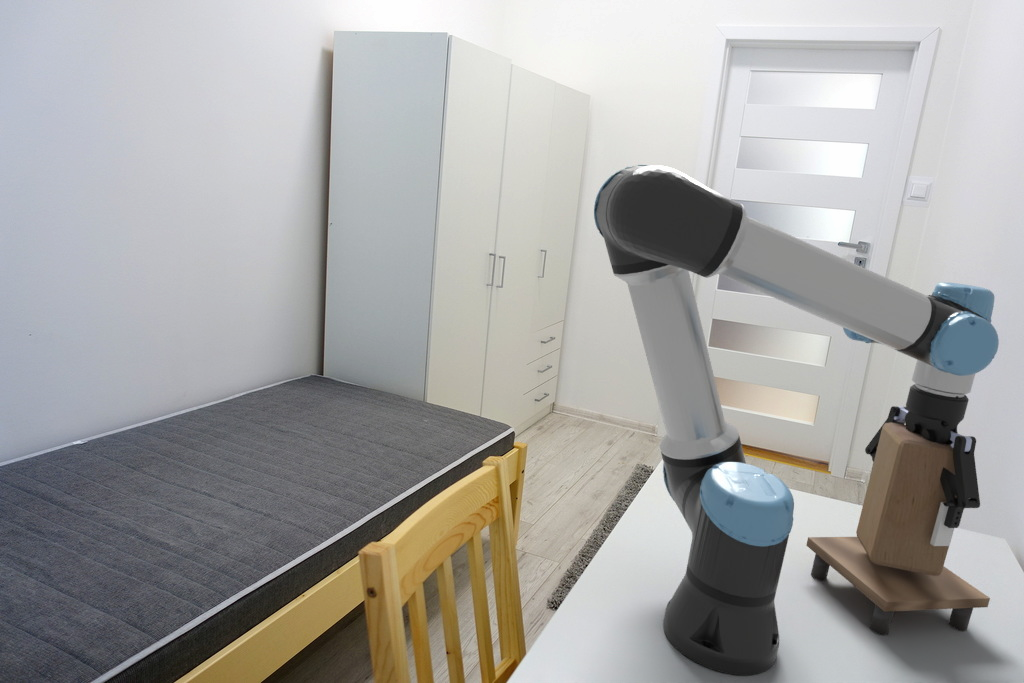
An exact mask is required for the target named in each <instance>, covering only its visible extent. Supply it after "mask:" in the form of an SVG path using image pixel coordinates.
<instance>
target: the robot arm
mask: <svg viewBox="0 0 1024 683" xmlns="http://www.w3.org/2000/svg"><path fill="white" fill-rule="evenodd" d="M593 206H594V207H593V219H594V222H595V226H596V229H597V231H598V232H599V235H601V236H602V238H603V240H604V244H605V247H606V251H607V255H608V258H609V263H610V265H611V269H612V272H613V275H614V276H615V277H617V278H618V279H620V280H622V281H624V282H625V283H626V284H627V287H628V290H629V296H630V298H631V302H632V306H633V310H634V314H635V318H636V321H637V326H638V329H639V333H640V337H641V340H642V344H643V348H644V353H645V356H646V360H647V363H648V364H647V365H648V367H649V372H650V375H651V379H652V382H653V387H654V390H655V394H656V397H657V402H658V405H659V409H660V413H661V417H662V421H663V425H664V430H665V432H666V433H665V435H664V436H663V437H662V439H661V440H660V443H659V450H660V453H661V454H660V455H661V456H662V457H661V458H662V461H663V463H662V464H663V465H662V474H663V475H662V476H663V482H664V485H665V488H666V490H667V492H668V495H669V496H670V497H671V499H672V501H674V503H675V505H676V507H677V508H678V509H679V512H680V513H681V515H682V517H683V519H684V520H685V522H686V524H687V525H688V527H689V529H690V531H691V543H690V549H689V552H688V559H687V564H686V566H687V567H686V570H685V574H684V576H683V578H682V580H681V581H680V583H679V584H678V586H677V588H676V590H675V592H674V594H673V595H672V597H671V599H670V600H669V601H668V602H667V604H666V607H665V611H664V616H663V622H662V626H663V627H662V628H663V631H664V634H665V636H666V638H667V640H669V642H670V643H671V645H673V647H674V648H675V649H676V650H677V651H679V653H681V654H682V655H684V656H685V657H687V658H688V659H690V660H691V661H693V662H694V663H697V664H699V665H700V666H703V667H706V668H708V669H711V670H714V671H717V672H720V673H725V674H731V675H739V676H745V675H746V676H748V675H755V674H760V673H763V672H766V671H767V670H769V669H770V668H771V667H772V666H773V665H775V662H776V660H777V657H778V652H779V647H780V635H779V633H780V632H779V625H778V618H777V611H776V606H775V598H776V594H777V590H778V587H779V586H778V585H779V581H780V577H781V572H782V568H783V564H784V558H785V555H786V549H787V545H788V541H789V536H790V533H791V532H792V529H793V525H794V524H793V523H794V509H795V501H794V496H793V494H792V492H791V490H790V488H789V487H788V485H786V483H785V482H784V481H783V480H782V479H780V478H779V477H777V476H776V475H775V474H773V473H767V472H766V470H765V469H763V468H762V467H758V466H757V465H756V466H755V465H753V464H749V463H747V462H746V457H745V453H744V449H743V445H742V441H741V438H740V437H741V436H740V433H739V430H738V428H737V427H736V426H734V425H733V424H731V423H729V422H727V421H726V420H725V417H724V412H723V408H722V403H721V400H720V396H719V392H718V391H719V390H718V388H717V384H716V380H715V375H714V371H713V366H712V363H711V362H712V361H711V358H710V354H709V350H708V346H707V342H706V338H705V333H704V329H703V326H702V324H703V323H702V320H701V317H700V312H699V308H698V304H697V300H696V296H695V292H694V288H693V283H692V278H691V276H690V272H691V273H694V274H695V275H698V276H701V277H703V278H706V279H707V278H711V277H714V276H716V275H720V276H722V277H724V278H726V279H729V280H731V281H734V282H736V283H739V284H741V285H742V286H746V287H748V288H750V289H753V290H755V291H757V292H760V293H762V294H764V295H767V296H769V297H771V298H773V299H776V300H778V301H781V302H783V303H785V304H788V305H790V306H792V307H795V308H798V309H799V310H801V311H804V312H806V313H809V314H811V315H813V316H815V317H818V318H820V319H823V320H825V321H828V322H830V323H832V324H834V325H837V326H839V327H842V329H843V332H844V334H845V335H846V337H847V338H848V339H850V340H852V341H856V342H857V341H859V342H863V343H865V344H880V345H884V346H886V347H888V348H890V349H893V350H895V351H896V352H899V353H900V354H903V355H906V356H908V357H909V358H913V359H915V360H916V363H915V366H914V371H913V374H912V378H911V381H912V382H913V383H914V384H912V385H910V386H909V390H908V395H907V399H906V401H905V402H906V403H905V406H893V405H892V406H891V407H890V409H889V412H888V416H887V418H886V420H885V421H884V422H883V423H882V425H881V426H880V428H879V429H878V431H877V432H876V433H875V435H874V436H873V437H872V439H871V440H870V441H869V443H868V444H867V446H866V447H865V450H864V452H865V454H866V455H870V457H871V459H872V460H871V461H872V463H874V459H875V455H876V451H877V447H878V443H879V439H880V435H881V431H882V427H883V425H884V424H885V423H890V422H891V423H897V424H903V425H906V428H905V429H907V430H908V431H910V432H915V433H918V434H920V435H922V437H923V438H924V439H926V440H929V441H931V442H937V443H939V444H945V443H947V444H949V445H951V447H952V448H953V460H954V469H955V475H954V474H953V473H951V472H950V471H949V470H947V469H946V468H944V467H943V469H942V473H941V477H940V481H941V485H942V488H943V491H944V494H945V497H946V501H947V502H941V504H940V508H939V512H938V515H937V519H936V523H935V527H934V530H933V534H932V538H931V541H930V544H931V545H933V546H949V547H950V546H951V541H952V539H953V534H954V531H955V529H958V528H959V526H960V524H961V520H962V517H963V513H964V511H965V509H978V508H980V506H981V499H980V498H981V497H980V491H979V484H978V476H977V475H978V474H977V469H976V468H977V467H976V461H975V459H976V458H975V449H976V446H977V445H976V444H977V439H976V437H975V436H971V435H968V436H967V435H962V434H960V433H959V432H958V425H959V424H960V423H961V422H962V421H963V420H964V419H965V416H966V415H965V414H966V412H967V407H968V404H969V397H968V396H967V394H969V393H971V392H972V387H973V384H974V380H975V376H976V374H978V373H981V371H983V370H984V369H986V368H987V367H988V366H989V365H991V363H992V361H993V359H994V358H995V356H996V355H997V353H998V349H999V342H1000V341H999V339H1000V338H999V335H998V331H997V330H996V328H995V326H994V325H993V324H992V315H993V310H994V307H995V306H994V305H995V294H994V293H993V291H992V290H990V289H988V288H985V287H980V286H976V285H970V284H965V283H964V284H963V283H957V282H956V283H955V282H946V281H945V282H939V283H937V284H936V285H935V287H934V290H933V291H932V293H931V294H929V295H928V294H927V295H925V294H923V293H921V292H919V291H917V290H915V289H913V288H909V287H908V286H905V285H903V284H901V283H899V282H897V281H895V280H892V279H890V278H888V277H885V276H884V275H882V274H881V275H880V274H878V273H877V272H874V271H872V270H869V269H867V268H865V267H863V266H860V265H859V264H856V263H854V262H851V261H849V260H846V259H845V258H843V257H841V256H838V255H836V254H833V253H831V252H829V251H827V250H825V249H822V248H820V247H818V246H816V245H813V244H811V243H809V242H806V241H805V240H802V239H800V238H798V237H795V236H792V235H791V234H788V233H786V232H784V231H782V230H779V229H777V228H774V227H773V226H770V225H769V224H766V223H763V222H761V221H759V220H757V219H754V218H752V217H750V216H748V215H747V212H746V208H745V206H744V204H742V203H740V202H738V201H736V200H735V199H734V200H733V199H731V198H729V197H728V196H725V195H723V194H722V193H719V192H718V191H716V190H715V189H712V188H710V187H708V186H706V185H705V184H703V183H701V182H699V181H698V180H697V179H695V178H693V177H691V176H690V175H688V174H686V173H684V172H682V171H680V170H678V169H676V168H673V167H671V166H666V165H658V164H657V165H655V164H653V165H647V164H637V165H632V166H626V167H625V168H623V169H619V170H618V171H616V172H615V173H613V175H611V176H610V177H608V178H607V180H605V181H604V183H603V184H602V185H601V187H600V189H599V190H598V192H597V195H596V197H595V200H594V205H593ZM872 467H873V465H872ZM872 467H871V468H872ZM870 475H871V473H870ZM870 475H869V476H870ZM955 495H956V497H957V498H955Z"/></svg>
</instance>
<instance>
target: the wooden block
mask: <svg viewBox="0 0 1024 683" xmlns="http://www.w3.org/2000/svg"><path fill="white" fill-rule="evenodd" d="M883 424H884V423H883ZM883 424H882V425H883ZM905 428H906V424H904V425H903V424H897V423H891V422H890V423H885V424H884V425H883V427H882V431H881V435H880V439H879V443H878V447H877V451H876V455H875V459H874V463H873V462H872V463H873V464H872V466H873V467H871V470H870V474H871V475H869V480H868V483H867V488H866V491H865V496H864V499H863V504H862V508H861V512H860V517H859V520H858V525H857V528H856V531H855V532H856V537H858V539H859V541H860V542H861V544H862V546H863V548H864V549H865V551H866V553H867V554H868V556H869V558H870V560H871V561H872V562H873V563H875V564H877V565H882V566H887V567H892V568H898V569H903V570H908V571H913V572H918V573H923V574H928V575H933V576H939V575H940V574H941V573H942V570H943V566H944V567H945V562H946V558H947V554H948V551H949V548H950V546H933V545H931V544H930V541H931V538H932V534H933V530H934V527H935V523H936V519H937V515H938V512H939V508H940V504H941V502H947V501H946V497H945V494H944V491H943V488H942V485H941V481H940V477H941V473H942V469H943V467H944V468H946V469H947V470H949V471H950V472H951V473H953V474H954V475H955V469H954V460H953V448H952V447H951V445H949V444H947V443H945V444H939V443H937V442H931V441H929V440H926V439H924V438H923V437H922V435H920V434H918V433H915V432H910V431H908V430H907V429H905ZM955 498H957V497H956V495H955Z"/></svg>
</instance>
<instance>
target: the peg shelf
mask: <svg viewBox="0 0 1024 683" xmlns="http://www.w3.org/2000/svg"><path fill="white" fill-rule="evenodd" d="M806 547H808V548H809V550H811V551H812V552H813V553H815V554H814V558H813V559H814V560H813V563H812V568H811V573H810V575H811V577H812V578H814V579H815V580H819V581H826V580H827V578H828V573H829V570H830V568H832V569H834V570H835V571H836V572H837V573H838V574H839V575H841V576H842V578H844V579H846V580H847V582H849V583H850V585H853V586H854V587H855V588H856V589H857V590H859V592H861V594H863V595H864V596H865V597H867V598H868V599H869V600H870V601H871V602H872V603H874V610H873V614H872V617H871V621H870V625H869V628H870V630H871V631H872V632H873V633H875V634H878V635H881V636H887V635H889V632H890V628H891V624H892V620H893V617H894V613H895V612H905V611H907V612H909V611H910V612H911V611H925V610H926V611H929V610H932V611H933V610H951V612H950V615H949V616H950V617H949V620H948V625H949V626H950V627H951V628H953V629H954V630H957V631H961V632H967V630H968V627H969V624H970V622H971V621H970V620H971V616H972V614H973V610H974V609H976V608H977V609H980V608H988V607H989V603H990V601H991V598H990V597H989V595H986V594H985V593H983V592H982V591H980V590H979V589H977V588H976V587H974V586H973V585H972V584H970V583H969V582H967V581H966V580H965V579H963V578H962V577H960V575H957V574H956V573H954V572H953V571H952V570H950V569H948V568H947V567H946V566H945V565H944V566H943V570H942V573H941V574H940V575H939V576H933V575H928V574H923V573H918V572H913V571H908V570H903V569H898V568H892V567H887V566H882V565H877V564H875V563H873V562H872V561H871V560H870V558H869V556H868V554H867V553H866V551H865V549H864V548H863V546H862V544H861V542H860V541H859V539H858V537H857V536H808V537H807V541H806Z"/></svg>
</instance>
